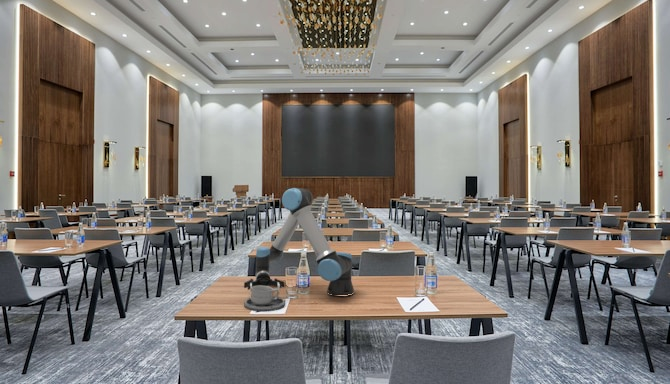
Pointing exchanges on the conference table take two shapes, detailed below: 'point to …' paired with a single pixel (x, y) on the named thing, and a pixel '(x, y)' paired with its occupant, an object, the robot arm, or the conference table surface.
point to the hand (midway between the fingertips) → (265, 288)
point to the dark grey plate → (273, 305)
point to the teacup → (262, 295)
